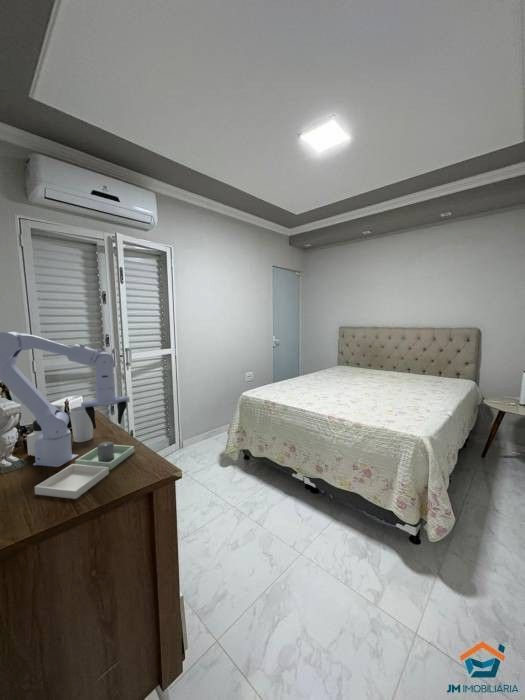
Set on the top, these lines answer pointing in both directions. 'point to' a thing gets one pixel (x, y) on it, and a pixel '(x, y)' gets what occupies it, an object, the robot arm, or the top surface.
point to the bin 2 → (119, 455)
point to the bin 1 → (72, 481)
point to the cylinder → (105, 451)
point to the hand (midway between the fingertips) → (107, 425)
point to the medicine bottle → (33, 438)
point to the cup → (81, 425)
